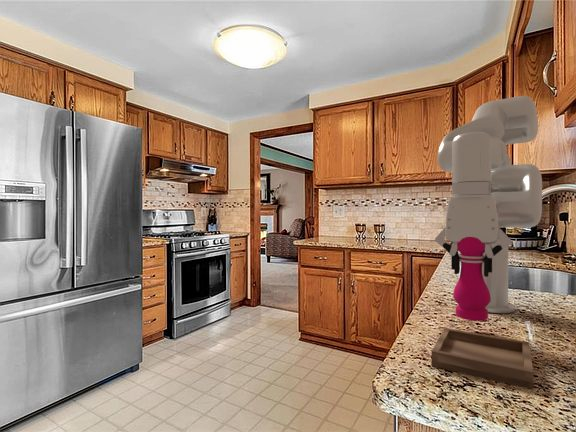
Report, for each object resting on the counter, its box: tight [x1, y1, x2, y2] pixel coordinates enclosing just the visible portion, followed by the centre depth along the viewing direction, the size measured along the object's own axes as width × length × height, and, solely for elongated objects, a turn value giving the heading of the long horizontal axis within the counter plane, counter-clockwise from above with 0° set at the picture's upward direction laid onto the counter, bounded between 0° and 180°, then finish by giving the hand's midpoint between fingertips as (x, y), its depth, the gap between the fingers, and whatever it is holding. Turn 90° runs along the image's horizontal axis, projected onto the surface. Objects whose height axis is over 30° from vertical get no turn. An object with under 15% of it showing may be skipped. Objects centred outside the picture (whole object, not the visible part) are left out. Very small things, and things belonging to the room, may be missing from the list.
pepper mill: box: [452, 237, 491, 322], centre depth 74 cm, size 7×7×20 cm
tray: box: [430, 327, 534, 390], centre depth 59 cm, size 14×14×2 cm
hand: (471, 273), depth 74 cm, fingers closed on pepper mill, 5 cm apart
